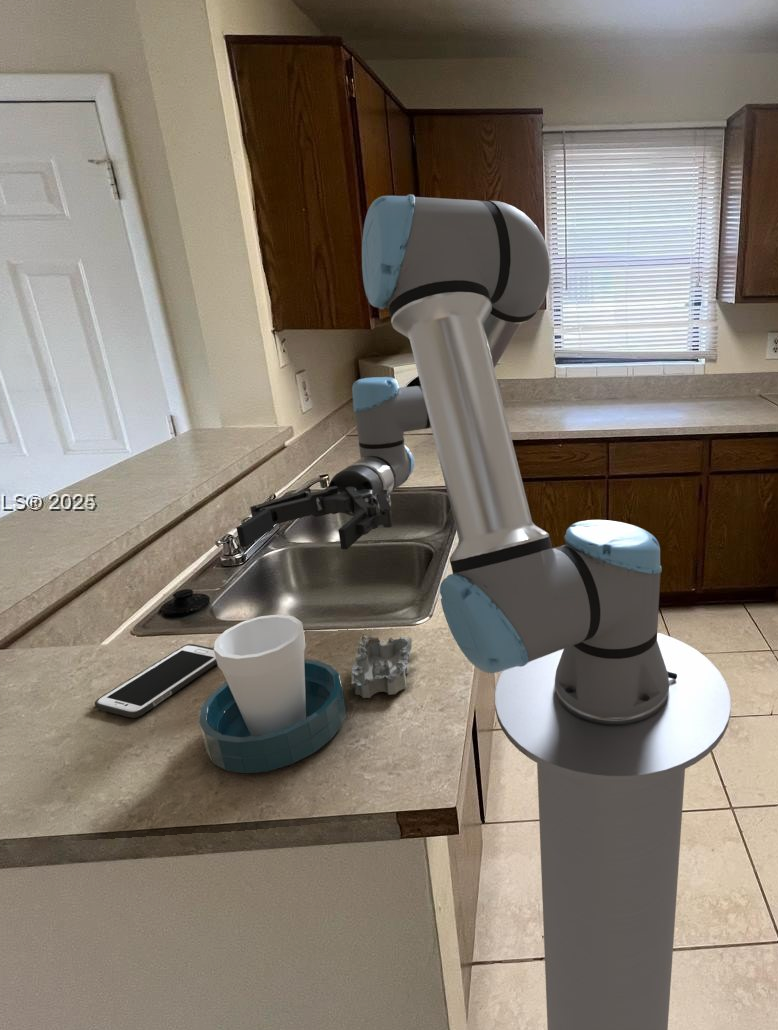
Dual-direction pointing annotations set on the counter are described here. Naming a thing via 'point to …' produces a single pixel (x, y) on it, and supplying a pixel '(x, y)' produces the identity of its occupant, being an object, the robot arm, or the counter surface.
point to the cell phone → (158, 681)
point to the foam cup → (265, 671)
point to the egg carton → (381, 666)
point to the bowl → (278, 749)
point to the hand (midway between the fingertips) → (291, 538)
